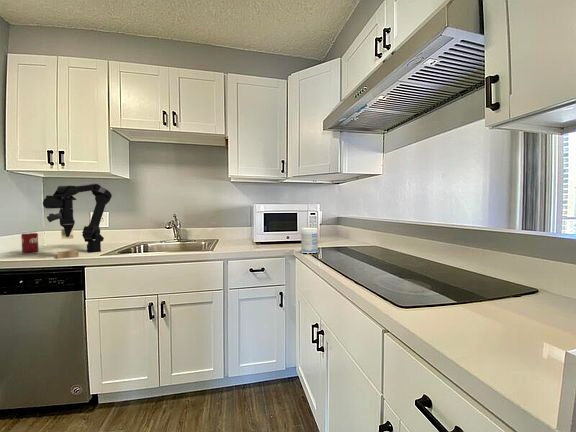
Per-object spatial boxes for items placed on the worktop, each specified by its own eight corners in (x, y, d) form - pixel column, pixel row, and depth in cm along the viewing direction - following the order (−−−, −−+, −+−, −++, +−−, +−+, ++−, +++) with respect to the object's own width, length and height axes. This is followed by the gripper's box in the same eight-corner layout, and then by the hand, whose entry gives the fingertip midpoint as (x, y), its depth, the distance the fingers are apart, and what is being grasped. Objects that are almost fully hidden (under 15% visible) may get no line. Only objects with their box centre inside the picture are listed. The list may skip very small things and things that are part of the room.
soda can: (19, 254, 161) (18, 234, 161) (27, 252, 168) (26, 232, 168) (34, 253, 163) (33, 233, 163) (41, 251, 170) (40, 232, 170)
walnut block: (77, 255, 161) (77, 250, 161) (78, 257, 154) (78, 252, 154) (57, 257, 155) (57, 251, 155) (57, 259, 148) (57, 254, 148)
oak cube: (72, 237, 158) (72, 228, 157) (73, 238, 154) (72, 229, 153) (61, 238, 154) (61, 229, 154) (61, 239, 150) (61, 229, 150)
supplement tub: (315, 255, 156) (315, 229, 156) (299, 254, 159) (299, 228, 158) (319, 252, 165) (319, 227, 165) (303, 251, 168) (303, 227, 168)
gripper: (47, 208, 155) (48, 236, 156) (46, 208, 141) (47, 239, 142) (72, 208, 162) (73, 234, 163) (74, 208, 148) (75, 237, 149)
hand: (67, 236), depth 154 cm, fingers closed on oak cube, 5 cm apart
